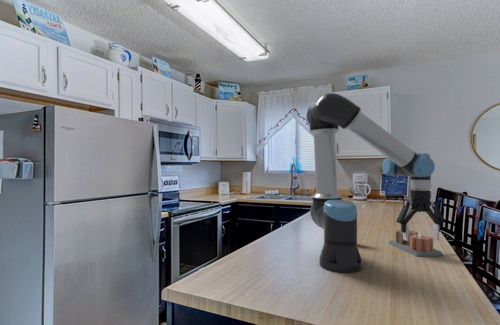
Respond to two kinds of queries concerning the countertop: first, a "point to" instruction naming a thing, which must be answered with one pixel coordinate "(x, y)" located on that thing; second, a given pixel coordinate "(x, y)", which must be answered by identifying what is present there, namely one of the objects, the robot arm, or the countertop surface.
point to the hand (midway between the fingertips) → (420, 239)
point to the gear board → (405, 245)
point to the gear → (421, 243)
